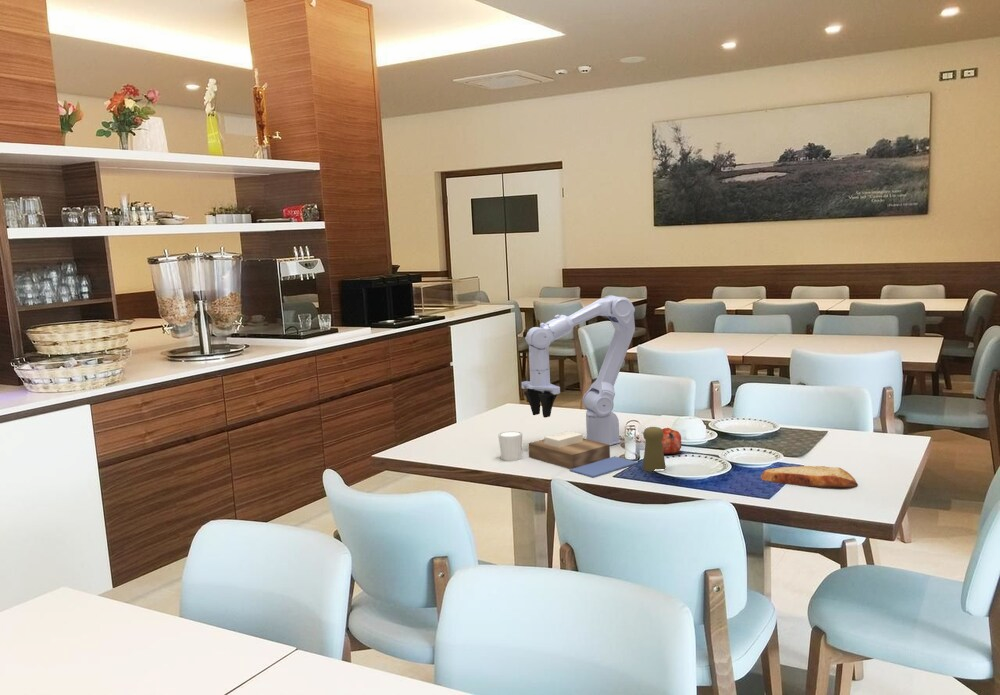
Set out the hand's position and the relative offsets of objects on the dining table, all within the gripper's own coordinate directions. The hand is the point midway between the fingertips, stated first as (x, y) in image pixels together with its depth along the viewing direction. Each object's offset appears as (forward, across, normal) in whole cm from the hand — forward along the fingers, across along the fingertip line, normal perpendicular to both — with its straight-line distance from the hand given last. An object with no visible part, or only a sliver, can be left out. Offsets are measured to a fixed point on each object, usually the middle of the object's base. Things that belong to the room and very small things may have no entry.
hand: (541, 415), depth 234 cm
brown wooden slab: (+10, +11, 0) cm, 15 cm away
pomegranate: (+11, +28, +22) cm, 37 cm away
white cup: (+11, -1, -11) cm, 15 cm away
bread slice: (+11, +69, +25) cm, 74 cm away
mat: (+10, +25, 0) cm, 27 cm away
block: (+6, +9, 0) cm, 11 cm away
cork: (+11, +35, +8) cm, 37 cm away
